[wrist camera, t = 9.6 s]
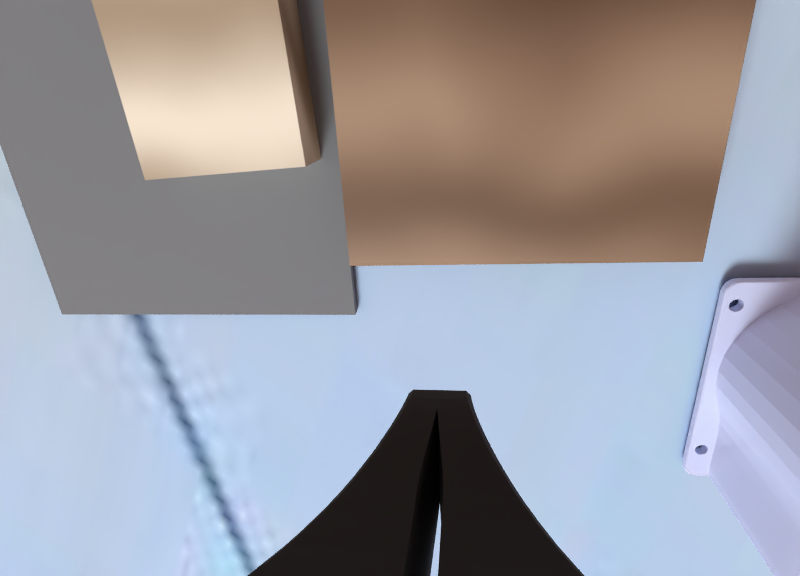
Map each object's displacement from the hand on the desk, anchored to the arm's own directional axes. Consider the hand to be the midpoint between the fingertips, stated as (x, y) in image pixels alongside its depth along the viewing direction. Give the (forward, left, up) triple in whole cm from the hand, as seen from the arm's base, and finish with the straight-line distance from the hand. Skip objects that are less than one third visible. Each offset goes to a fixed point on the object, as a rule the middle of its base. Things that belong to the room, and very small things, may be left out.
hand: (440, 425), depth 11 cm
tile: (+9, +8, -9) cm, 15 cm away
